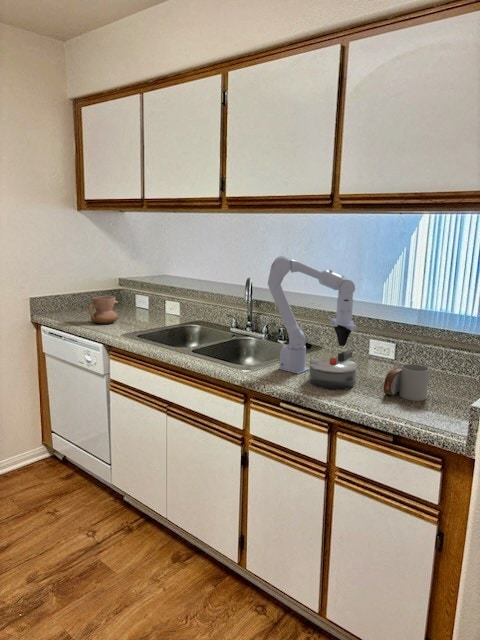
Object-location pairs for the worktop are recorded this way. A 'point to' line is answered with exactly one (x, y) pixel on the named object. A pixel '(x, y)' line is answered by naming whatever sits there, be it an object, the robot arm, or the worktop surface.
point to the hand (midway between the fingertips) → (342, 345)
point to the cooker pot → (332, 379)
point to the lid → (334, 363)
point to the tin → (393, 381)
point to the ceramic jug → (103, 310)
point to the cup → (414, 382)
